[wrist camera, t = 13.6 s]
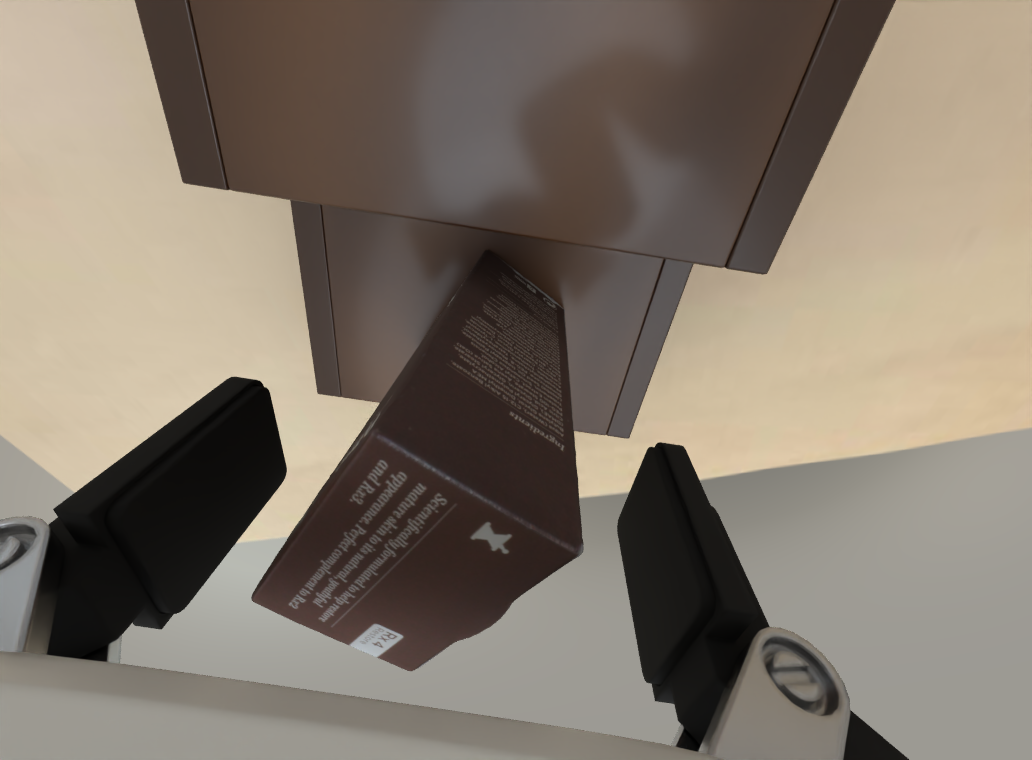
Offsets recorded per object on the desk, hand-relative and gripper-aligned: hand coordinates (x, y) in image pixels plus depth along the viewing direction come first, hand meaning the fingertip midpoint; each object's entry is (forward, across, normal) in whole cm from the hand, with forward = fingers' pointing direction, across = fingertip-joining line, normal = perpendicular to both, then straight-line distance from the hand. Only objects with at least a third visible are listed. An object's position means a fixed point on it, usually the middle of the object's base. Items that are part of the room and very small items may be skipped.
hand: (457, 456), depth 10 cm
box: (+9, 0, 0) cm, 9 cm away
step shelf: (+14, +1, -5) cm, 15 cm away
